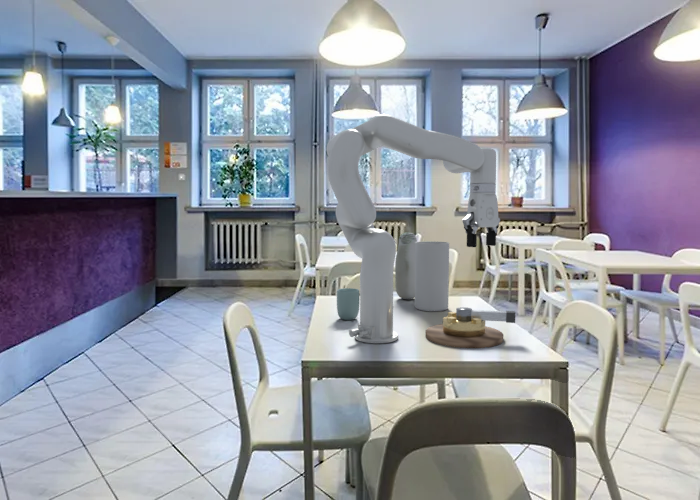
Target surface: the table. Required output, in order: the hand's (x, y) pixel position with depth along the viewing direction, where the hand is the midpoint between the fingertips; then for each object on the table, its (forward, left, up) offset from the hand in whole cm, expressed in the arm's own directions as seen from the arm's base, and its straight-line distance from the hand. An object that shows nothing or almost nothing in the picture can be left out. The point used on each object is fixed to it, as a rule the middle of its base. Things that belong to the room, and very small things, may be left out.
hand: (481, 246), depth 144 cm
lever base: (-12, -1, -26) cm, 28 cm away
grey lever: (-10, -5, -24) cm, 26 cm away
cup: (-18, +40, -26) cm, 51 cm away
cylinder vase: (+16, +29, -26) cm, 42 cm away
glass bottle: (+25, +47, -26) cm, 59 cm away
